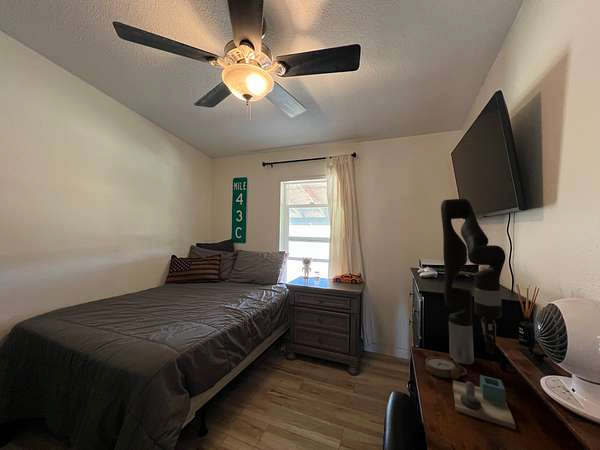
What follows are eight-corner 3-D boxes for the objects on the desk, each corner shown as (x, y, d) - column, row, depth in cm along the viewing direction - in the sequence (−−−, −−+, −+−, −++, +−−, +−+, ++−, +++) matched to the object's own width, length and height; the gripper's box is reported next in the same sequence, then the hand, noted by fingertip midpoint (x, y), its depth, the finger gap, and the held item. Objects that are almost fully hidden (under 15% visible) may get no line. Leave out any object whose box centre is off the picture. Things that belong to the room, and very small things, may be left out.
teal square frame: (480, 388, 86) (479, 375, 86) (501, 394, 83) (500, 380, 83) (483, 398, 81) (482, 383, 81) (505, 405, 78) (505, 389, 78)
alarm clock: (426, 354, 109) (465, 358, 100) (429, 365, 108) (468, 371, 99) (422, 365, 100) (464, 370, 91) (425, 377, 99) (467, 384, 90)
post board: (452, 384, 91) (452, 361, 91) (502, 397, 83) (501, 373, 84) (455, 410, 77) (454, 384, 78) (515, 429, 70) (514, 400, 70)
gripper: (473, 295, 91) (474, 337, 90) (475, 305, 79) (477, 353, 78) (498, 298, 86) (500, 342, 86) (504, 309, 75) (506, 360, 74)
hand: (489, 347), depth 82 cm, fingers open, 8 cm apart
